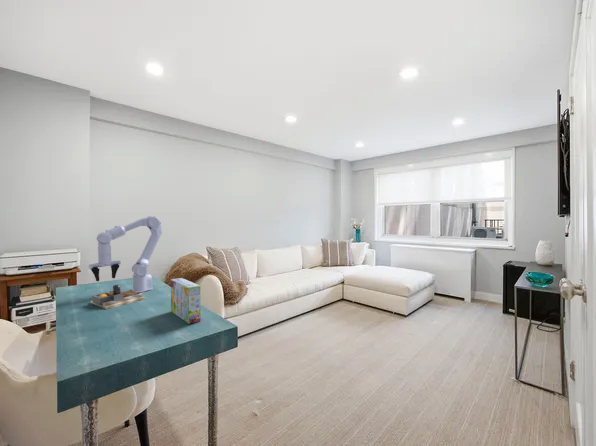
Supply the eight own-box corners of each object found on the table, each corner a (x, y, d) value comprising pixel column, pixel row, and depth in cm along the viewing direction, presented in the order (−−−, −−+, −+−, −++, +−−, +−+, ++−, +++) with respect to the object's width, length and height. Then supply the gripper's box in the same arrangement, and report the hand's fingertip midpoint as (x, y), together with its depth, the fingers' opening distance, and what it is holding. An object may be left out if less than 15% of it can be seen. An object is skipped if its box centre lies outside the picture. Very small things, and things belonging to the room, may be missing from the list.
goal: (107, 298, 145) (106, 292, 145) (114, 301, 140) (114, 295, 140) (92, 302, 140) (92, 295, 140) (100, 305, 135) (99, 298, 135)
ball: (95, 300, 139) (103, 302, 142) (98, 301, 136) (106, 303, 139) (99, 292, 140) (107, 294, 143) (102, 293, 138) (110, 295, 141)
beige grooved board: (128, 293, 157) (128, 288, 157) (145, 299, 147) (144, 293, 147) (90, 302, 142) (90, 296, 142) (106, 309, 132) (106, 303, 132)
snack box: (202, 321, 116) (201, 285, 115) (188, 325, 112) (187, 287, 112) (182, 308, 132) (181, 276, 131) (170, 311, 128) (169, 279, 127)
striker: (113, 298, 145) (112, 282, 145) (123, 301, 140) (122, 284, 139) (104, 300, 142) (104, 283, 142) (114, 303, 136) (113, 286, 136)
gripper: (92, 257, 143) (93, 283, 144) (122, 253, 155) (123, 277, 156) (86, 256, 147) (87, 281, 148) (116, 252, 159) (117, 276, 160)
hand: (105, 279), depth 152 cm, fingers open, 7 cm apart
